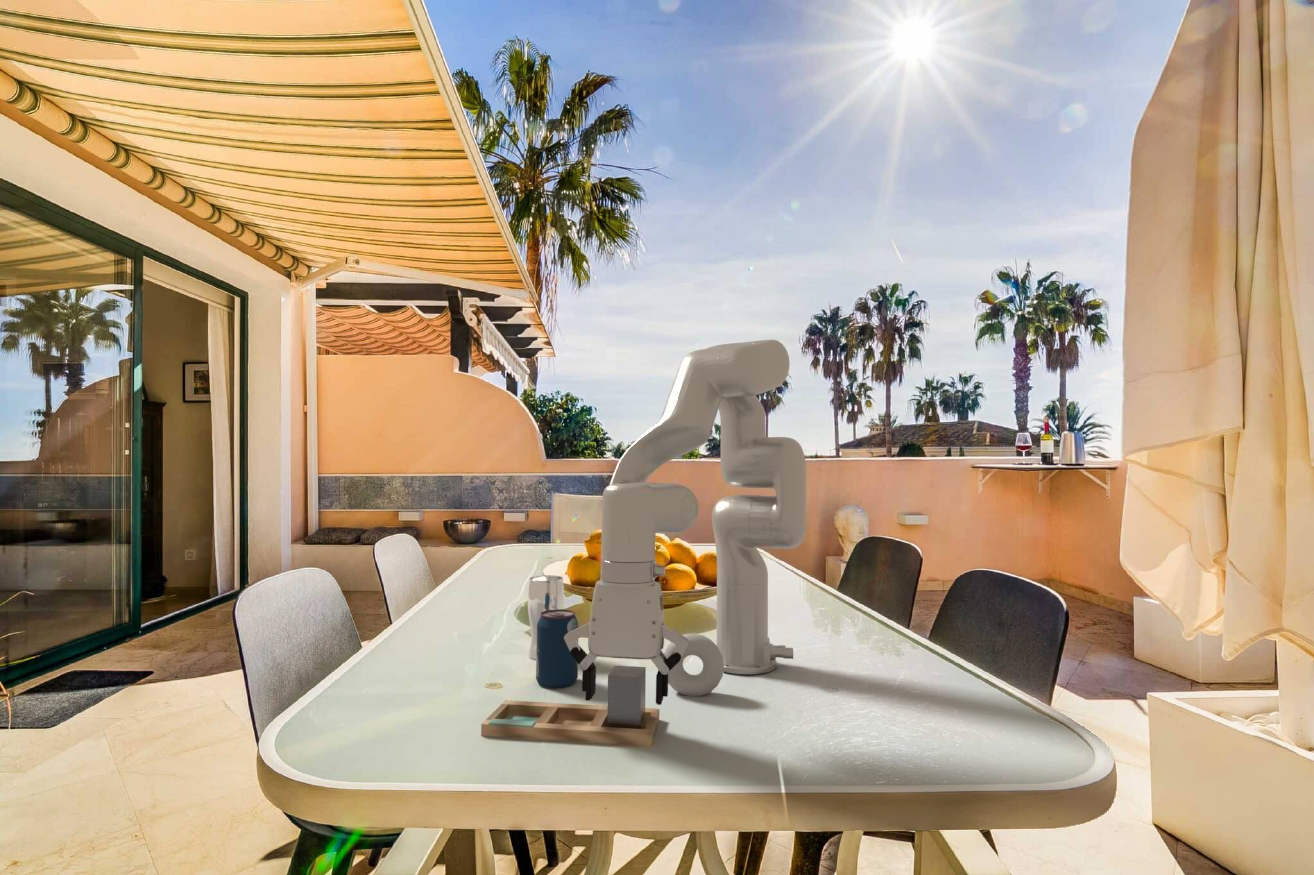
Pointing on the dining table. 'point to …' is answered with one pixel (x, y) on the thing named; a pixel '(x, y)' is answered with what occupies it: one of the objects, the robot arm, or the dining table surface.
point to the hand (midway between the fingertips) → (624, 699)
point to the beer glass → (543, 602)
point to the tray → (565, 724)
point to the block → (626, 697)
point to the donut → (709, 673)
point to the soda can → (555, 649)
